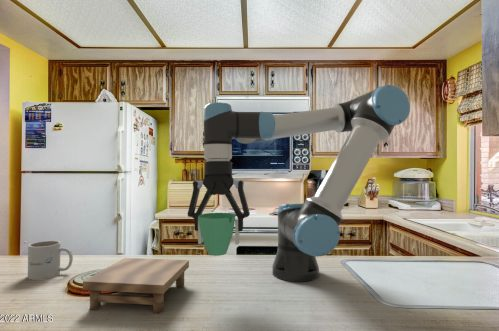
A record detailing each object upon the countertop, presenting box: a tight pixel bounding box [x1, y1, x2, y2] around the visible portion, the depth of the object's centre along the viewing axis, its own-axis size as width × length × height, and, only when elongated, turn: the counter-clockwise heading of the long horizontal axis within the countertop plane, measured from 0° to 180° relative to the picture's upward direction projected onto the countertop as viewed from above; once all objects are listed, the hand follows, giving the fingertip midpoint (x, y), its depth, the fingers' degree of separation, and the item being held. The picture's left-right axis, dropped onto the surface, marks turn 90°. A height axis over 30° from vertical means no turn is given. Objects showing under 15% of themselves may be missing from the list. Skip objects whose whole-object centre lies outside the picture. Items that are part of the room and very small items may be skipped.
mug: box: [27, 240, 74, 281], centre depth 99 cm, size 12×9×10 cm
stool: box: [82, 257, 190, 314], centre depth 83 cm, size 20×20×7 cm
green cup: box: [198, 212, 236, 257], centre depth 84 cm, size 15×10×10 cm
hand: (219, 242), depth 84 cm, fingers closed on green cup, 9 cm apart
